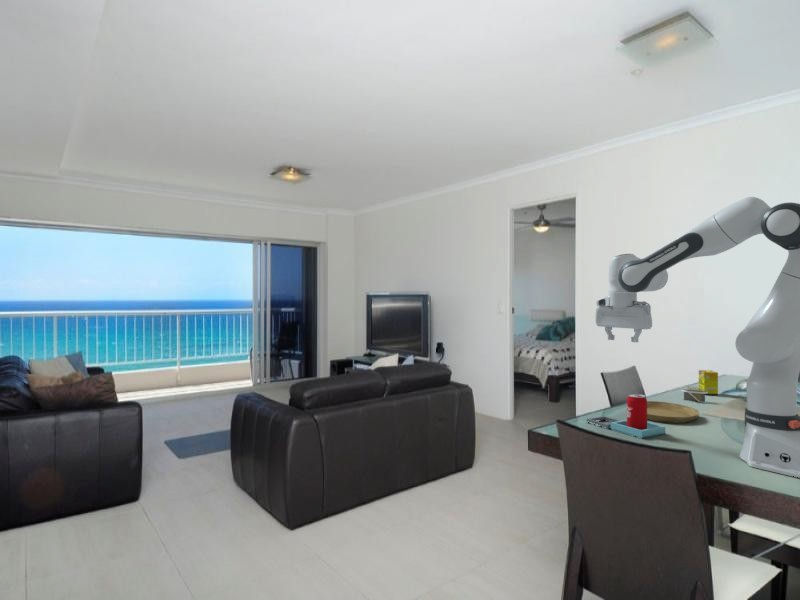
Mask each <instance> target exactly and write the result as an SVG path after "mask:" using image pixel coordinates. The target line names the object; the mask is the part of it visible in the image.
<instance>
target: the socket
mask: <svg viewBox="0 0 800 600" xmlns="http://www.w3.org/2000/svg"><path fill="white" fill-rule="evenodd" d="M596 420H607V421H610V422H616V421H621V420H619V419H616V418H614V417H613V418H612V417H608V416H605V415H602V416H596V417H591V418H586V422H587V421H589V422H592V423H595V424H598V425H600V426H603V427H606V428H611V423H610V422H609V423H604V422H603V421H600V422H598V421H596ZM607 421H606V422H607Z"/></svg>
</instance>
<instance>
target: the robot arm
mask: <svg viewBox="0 0 800 600" xmlns="http://www.w3.org/2000/svg"><path fill="white" fill-rule="evenodd" d="M762 234H763V235H764V236H765V237H766V239H767V240H768V241H770V242H772V243H773V244H776V245H777V246H779V247H781V248H782V249H784V250H786V251H788V256H787V259H786V261H785V263H784V265H783V267H782V268H781V271H780V273H779V275H778V276H777V279H776V280H775V282H774V284H773V286H772V288H771V290H770V291H769V293H768V296H767V297H766V299H765V300H764V302H762V304H761V305H760V307H759V308H758V309H757V311H756V312H755V313H754V315H753V316H752V318H751V319H750V320H749V322H748V324H747V325H746V326H745V327H744V329H742V330H741V331H740V332H739V333H738V334H737V336H736V339H735V344H734V345H735V349H736V351H737V353H738V355H740V356H741V357H742V358H744V360H747V361H749V362H750V363H751V362H752V366H751V369H750V374H749V376H748V378H747V380H746V408H745V409H744V426H745V432H744V433H745V434H744V438H743V445H742V447H741V450H740V453H739V458H740V459H741V460H742V461H744V462H746V463H747V465H748V466H749V467H752V468H756V469H760V470H764V471H769V472H773V473H777V474H781V475H784V476H790V477H793V476H794V477H793V478H797V477H798V478H797V479H800V415H799V414H798V412H797V411H798V410H797V409H798V406H797V405H798V402H797V400H798V398H797V396H798V395H797V393H798V382H799V377H800V203H799V202H782V203H779V204H776V205H774V206H773V207H771V206H769V205H768V203H767V202H766V201H765V200H762V199H761V198H758V197H755V196H748V197H745V198H742V199H740V200H738V201H735V202H733V203H732V204H730V205H728V206H726V207H724V208H722V209H720V210H719V211H717V212H716V213H714V214H713V215H711V216H710V217H707V219H705V220H703V221H702V222H700V223H699V224H698V225H697V226H695V227H693V228H692V229H691V230H689V231H688V232H686V233H684V234H683V235H681V236H680V237H678V238H677V239H674V240H673V241H671V242H670V243H668V244H666V245H664V246H663V247H661V248H660V249H657V250H656V251H654V252H653V253H651V254H649V255H648V256H646V257H644V258H640V257H638V256H636V255H635V254H634V253H623V254H618V255H615V256H613V257H612V258H611V259H610V261H609V268H608V283H609V290H608V296H605V297H602V298H599V299H597V300H596V302H595V303H596V306H597V307H596V309H595V325H596V326H597V327H600V328H602V327H604V331H605V333H606V335H607V341H615V334H613V332H612V330H613V328H619V329H630V330H631V329H632V330H633V332H634V334H633V336H631V337H630V339H631V341H630V342H632V343H639V337H640V335H642V332H643V331H642V330H650V329H652V327H653V318H652V313H651V310H652V308H651V307H652V306H651V304H650V303H648V302H647V301H643V300H642V301H639V300H638V297H637V296H638V295H637V294H638V293H640V292H641V293H642V292H656V291H658V290H661V289H663V288H664V287H665V286H666V284H667V282H668V280H669V279H668V278H669V275H668V274H669V273H668V271H667V270H668V269H671V268H672V267H674V266H676V265H677V264H679V263H681V262H683V261H687V260H690V259H694V258H700V257H701V258H703V257H711V256H716V255H719V254H721V253H724V252H727V251H729V250H731V249H733V248H736V246H737V247H738V245H740V244H742V243H743V242H745V241H747V240H748V239H750V238H752V237H754V236H757V235H762Z"/></svg>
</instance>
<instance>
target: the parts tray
mask: <svg viewBox="0 0 800 600" xmlns="http://www.w3.org/2000/svg"><path fill="white" fill-rule="evenodd" d="M611 429H613V430H616V431H615V432H617V431H618V432H617V433H620V432H622V433H621V434H624V433H625V434H624V435H627V434H629V435H628V436H630V435H633V436H632V437H634V436H636V437H635V438H637V437H640V438H644V439H648V438H647V437H649V438H653V437H656V436H662V435H666V426H664V425H660V424H656V423H653V422H649V421H647V429H644V430H639V429H635V428H632V427H628V426H627V419H623V420H620V421H616V422H611ZM611 429H610V430H611ZM613 430H612V431H613ZM640 438H639V439H640Z"/></svg>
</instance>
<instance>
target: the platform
mask: <svg viewBox="0 0 800 600" xmlns="http://www.w3.org/2000/svg"><path fill="white" fill-rule="evenodd" d="M681 392H683V401H689V402H690V401H692V402H698V403H705V402H706V395H705V394H706V393H708V391H703V388H699V386H697V387H696V389H694V386H687V389H686V388H685V389H683V388H681Z"/></svg>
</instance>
